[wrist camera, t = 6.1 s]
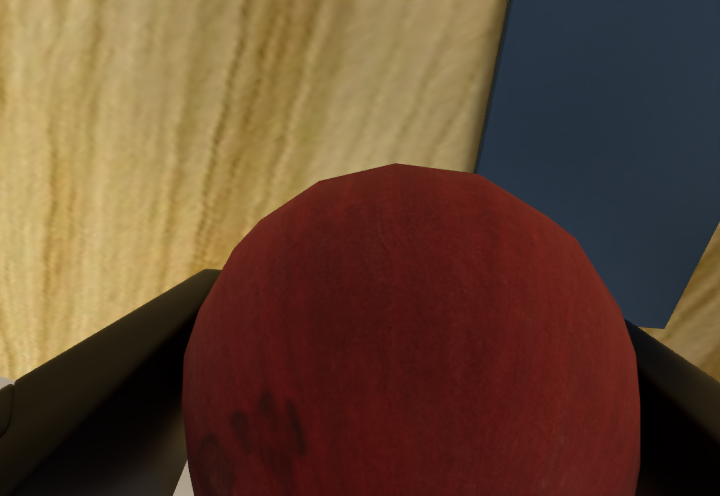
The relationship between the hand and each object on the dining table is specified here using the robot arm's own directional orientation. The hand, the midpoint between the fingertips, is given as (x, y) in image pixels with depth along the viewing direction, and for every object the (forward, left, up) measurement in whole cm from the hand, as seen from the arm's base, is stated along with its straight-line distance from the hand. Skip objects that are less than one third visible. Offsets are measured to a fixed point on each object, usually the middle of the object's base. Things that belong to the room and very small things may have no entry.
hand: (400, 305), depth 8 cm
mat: (0, -8, -12) cm, 14 cm away
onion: (0, 0, -2) cm, 2 cm away
